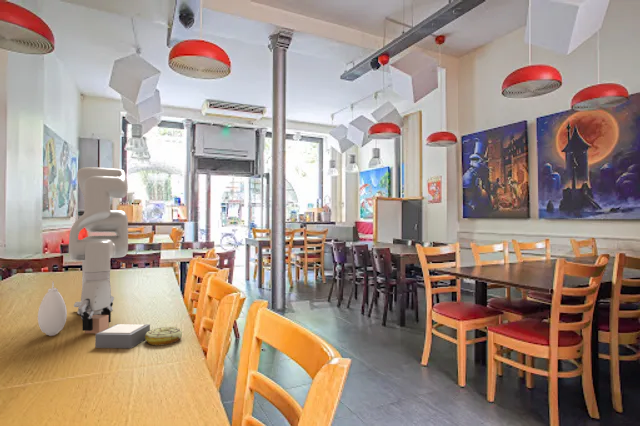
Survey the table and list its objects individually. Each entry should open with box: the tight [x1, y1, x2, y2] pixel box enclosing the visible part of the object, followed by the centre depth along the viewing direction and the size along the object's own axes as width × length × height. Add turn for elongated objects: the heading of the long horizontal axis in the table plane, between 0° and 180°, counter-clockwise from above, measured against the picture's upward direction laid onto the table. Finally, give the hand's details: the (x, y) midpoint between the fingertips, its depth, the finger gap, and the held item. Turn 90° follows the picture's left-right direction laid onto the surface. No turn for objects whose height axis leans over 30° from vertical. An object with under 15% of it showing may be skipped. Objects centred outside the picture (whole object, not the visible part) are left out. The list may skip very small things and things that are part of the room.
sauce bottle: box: [37, 281, 68, 337], centre depth 124 cm, size 8×8×18 cm
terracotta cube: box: [84, 314, 110, 334], centre depth 129 cm, size 5×5×5 cm
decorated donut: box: [145, 326, 183, 346], centre depth 118 cm, size 10×11×4 cm
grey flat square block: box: [94, 323, 151, 349], centre depth 117 cm, size 11×11×4 cm
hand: (97, 326), depth 128 cm, fingers open, 9 cm apart
